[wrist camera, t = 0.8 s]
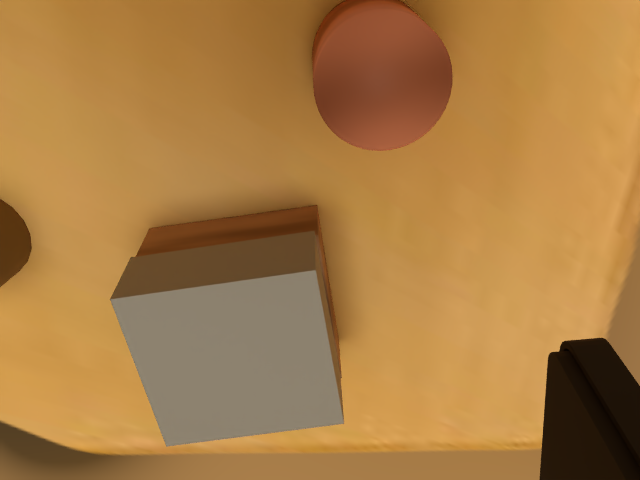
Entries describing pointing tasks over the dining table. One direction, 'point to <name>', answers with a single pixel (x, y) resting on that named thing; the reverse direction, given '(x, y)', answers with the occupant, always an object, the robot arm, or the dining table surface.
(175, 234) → the tower bottom block
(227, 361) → the tower top block
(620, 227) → the dining table surface
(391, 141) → the reddish pink cylinder
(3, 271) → the cork
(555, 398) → the robot arm
